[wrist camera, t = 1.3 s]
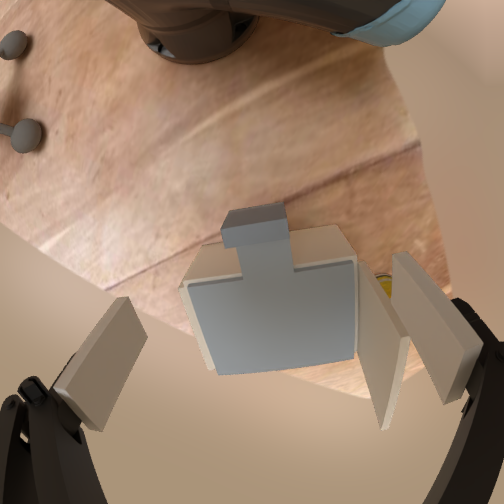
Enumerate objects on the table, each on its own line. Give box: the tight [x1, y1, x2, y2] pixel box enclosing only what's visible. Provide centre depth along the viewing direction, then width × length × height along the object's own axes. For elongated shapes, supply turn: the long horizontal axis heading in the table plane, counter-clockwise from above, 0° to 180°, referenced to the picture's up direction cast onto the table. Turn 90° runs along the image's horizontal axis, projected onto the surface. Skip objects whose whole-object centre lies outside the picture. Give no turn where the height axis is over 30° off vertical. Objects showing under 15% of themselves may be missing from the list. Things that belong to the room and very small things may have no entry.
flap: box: [187, 202, 355, 375], centre depth 28 cm, size 20×17×5 cm
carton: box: [178, 224, 411, 431], centre depth 30 cm, size 14×20×22 cm
